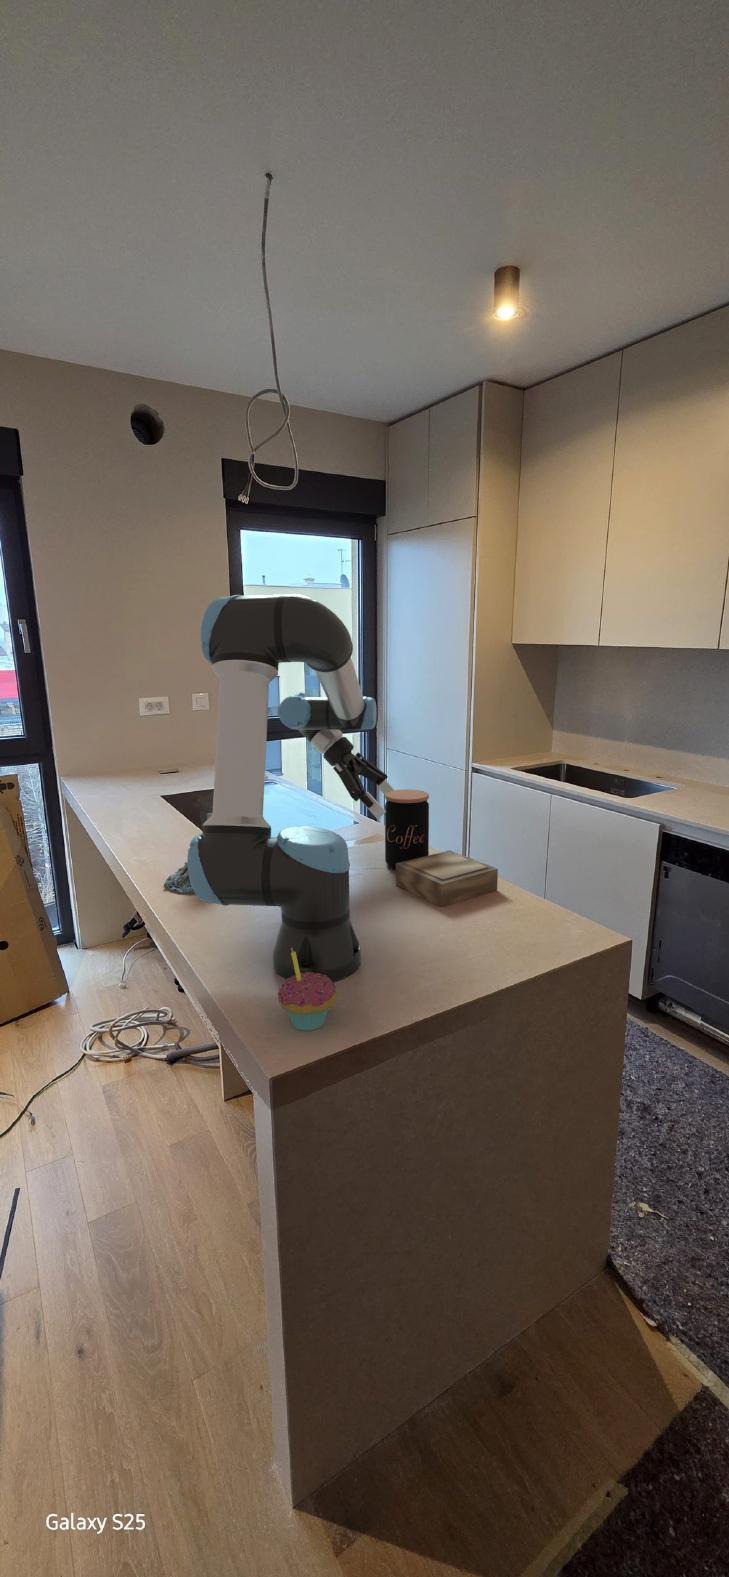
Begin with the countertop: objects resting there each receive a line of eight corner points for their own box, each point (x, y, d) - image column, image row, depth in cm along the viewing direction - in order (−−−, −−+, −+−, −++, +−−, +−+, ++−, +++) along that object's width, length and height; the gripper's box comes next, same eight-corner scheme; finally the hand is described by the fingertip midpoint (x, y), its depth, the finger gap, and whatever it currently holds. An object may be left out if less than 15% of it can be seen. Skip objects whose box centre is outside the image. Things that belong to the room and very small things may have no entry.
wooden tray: (497, 890, 145) (497, 867, 144) (441, 906, 137) (441, 882, 136) (449, 870, 158) (449, 849, 157) (395, 884, 150) (395, 862, 149)
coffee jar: (380, 870, 159) (379, 798, 155) (391, 856, 169) (391, 788, 165) (423, 874, 156) (424, 800, 152) (432, 859, 166) (433, 790, 162)
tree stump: (151, 879, 157) (161, 805, 156) (228, 881, 169) (238, 812, 168) (179, 899, 142) (190, 817, 141) (261, 899, 154) (272, 823, 153)
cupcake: (283, 1042, 91) (280, 963, 89) (275, 1010, 99) (271, 937, 97) (343, 1032, 94) (342, 955, 91) (330, 1001, 102) (328, 929, 99)
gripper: (341, 747, 176) (395, 805, 175) (302, 764, 154) (363, 832, 152) (360, 728, 173) (414, 787, 172) (322, 743, 151) (385, 811, 149)
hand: (390, 808), depth 162 cm, fingers open, 13 cm apart
